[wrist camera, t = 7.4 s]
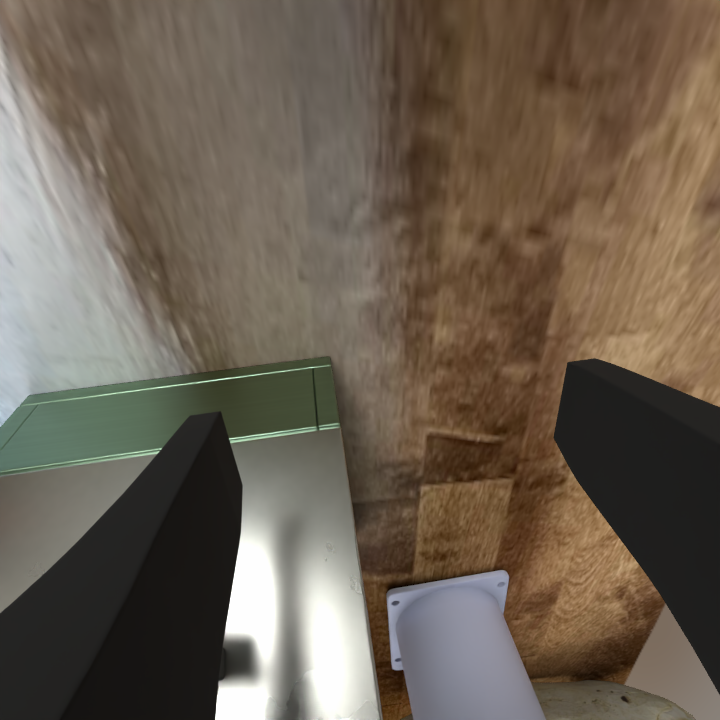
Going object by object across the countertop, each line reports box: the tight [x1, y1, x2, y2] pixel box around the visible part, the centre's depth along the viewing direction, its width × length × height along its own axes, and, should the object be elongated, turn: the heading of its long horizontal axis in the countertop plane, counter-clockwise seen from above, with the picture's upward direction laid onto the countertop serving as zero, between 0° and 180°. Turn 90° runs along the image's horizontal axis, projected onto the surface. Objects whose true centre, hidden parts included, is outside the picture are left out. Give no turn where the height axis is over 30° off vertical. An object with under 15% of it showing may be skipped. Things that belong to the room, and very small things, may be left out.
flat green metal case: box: [0, 357, 341, 476], centre depth 20 cm, size 13×13×5 cm
